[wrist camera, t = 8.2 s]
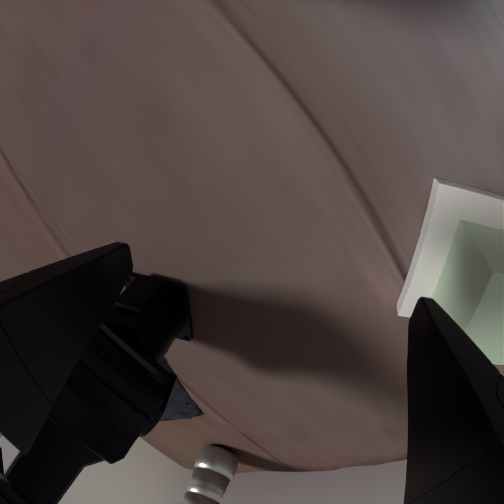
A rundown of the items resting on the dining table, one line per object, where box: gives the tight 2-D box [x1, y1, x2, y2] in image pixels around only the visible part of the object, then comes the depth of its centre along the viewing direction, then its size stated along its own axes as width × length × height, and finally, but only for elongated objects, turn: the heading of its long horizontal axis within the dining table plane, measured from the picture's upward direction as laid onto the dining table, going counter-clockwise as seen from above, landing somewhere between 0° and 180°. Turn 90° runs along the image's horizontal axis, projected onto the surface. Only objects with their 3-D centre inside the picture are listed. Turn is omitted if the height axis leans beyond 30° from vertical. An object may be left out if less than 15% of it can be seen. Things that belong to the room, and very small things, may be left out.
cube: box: [431, 220, 504, 365], centre depth 15 cm, size 6×6×6 cm
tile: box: [397, 178, 504, 317], centre depth 18 cm, size 10×10×1 cm
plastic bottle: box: [179, 445, 238, 504], centre depth 35 cm, size 6×7×20 cm
